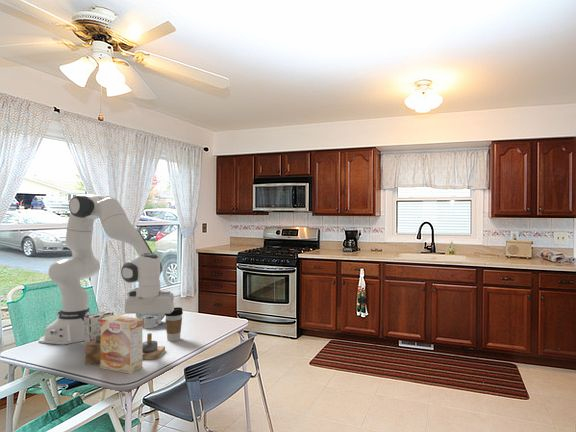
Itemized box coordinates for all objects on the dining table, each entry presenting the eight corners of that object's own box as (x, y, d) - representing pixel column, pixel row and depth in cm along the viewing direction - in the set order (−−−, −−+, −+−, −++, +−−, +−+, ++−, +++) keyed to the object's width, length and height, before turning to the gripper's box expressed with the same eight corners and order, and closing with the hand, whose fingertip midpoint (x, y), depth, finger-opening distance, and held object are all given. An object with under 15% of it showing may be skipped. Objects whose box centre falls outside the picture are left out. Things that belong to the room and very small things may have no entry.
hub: (132, 358, 159) (132, 337, 159) (142, 350, 169) (142, 330, 169) (156, 359, 159) (156, 337, 159) (164, 350, 169) (165, 330, 169)
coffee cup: (177, 343, 179) (177, 311, 179) (161, 341, 180) (161, 310, 180) (185, 337, 187) (185, 306, 187) (170, 336, 189) (170, 305, 189)
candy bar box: (107, 346, 174) (107, 310, 174) (114, 348, 172) (114, 311, 172) (83, 353, 165) (83, 315, 165) (90, 355, 162) (90, 317, 162)
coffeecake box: (99, 368, 149) (99, 318, 149) (113, 362, 156) (113, 314, 156) (129, 374, 144) (129, 322, 144) (143, 367, 150) (143, 318, 150)
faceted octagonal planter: (145, 323, 167) (145, 315, 167) (159, 323, 167) (159, 315, 167) (139, 328, 161) (139, 319, 161) (154, 328, 160) (154, 319, 160)
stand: (85, 364, 153) (85, 338, 153) (94, 358, 160) (94, 333, 160) (102, 364, 153) (102, 338, 153) (110, 358, 160) (110, 333, 160)
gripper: (176, 289, 167) (176, 321, 167) (129, 289, 167) (129, 321, 167) (171, 292, 160) (171, 325, 160) (123, 292, 161) (123, 325, 161)
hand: (149, 323), depth 164 cm, fingers closed on faceted octagonal planter, 6 cm apart
